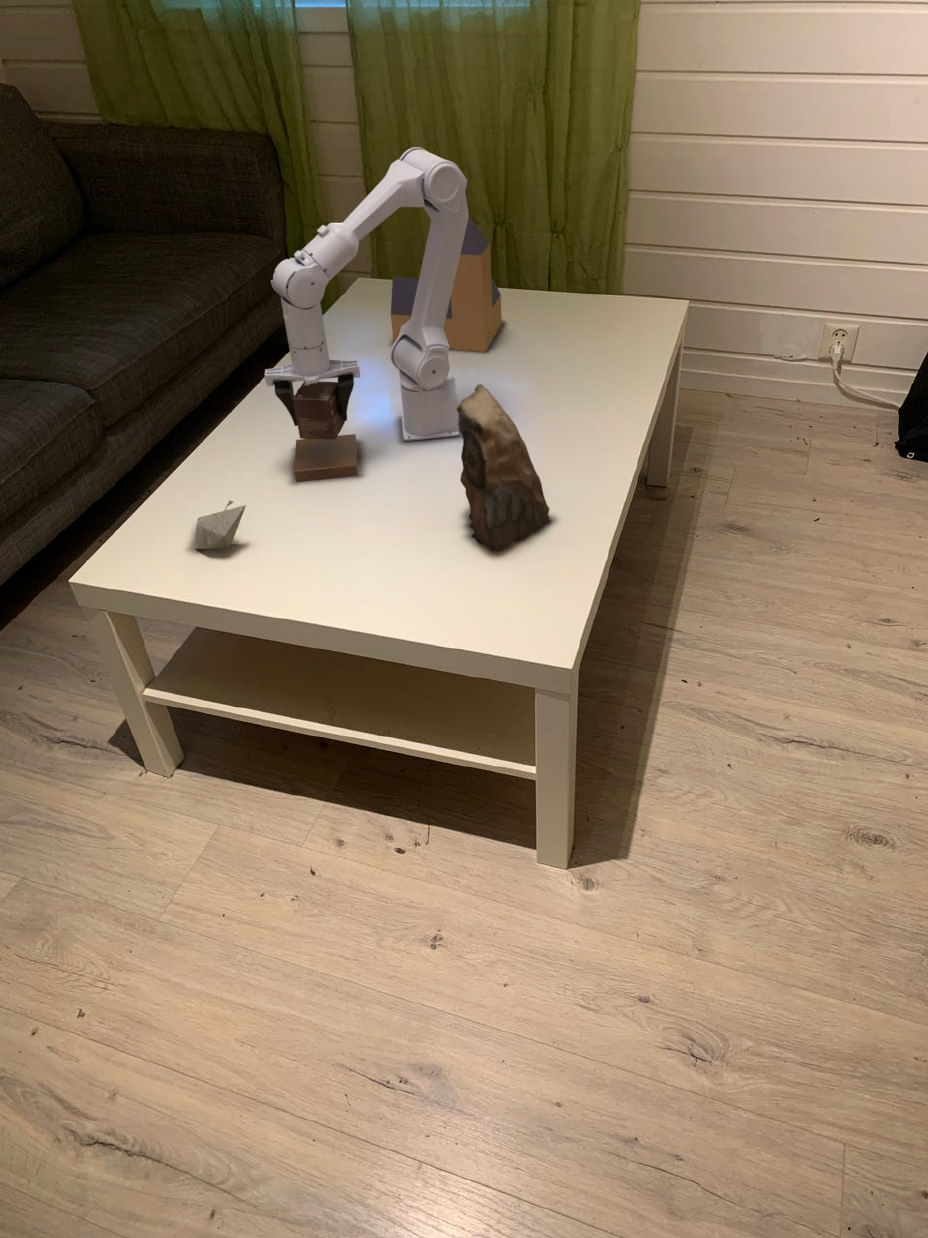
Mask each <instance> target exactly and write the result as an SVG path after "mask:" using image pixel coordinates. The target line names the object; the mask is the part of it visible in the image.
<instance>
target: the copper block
mask: <svg viewBox="0 0 928 1238" xmlns="http://www.w3.org/2000/svg"><path fill="white" fill-rule="evenodd" d="M356 436H357V435H356V433H351V434H350V433H349V434H342V435H341V434H338V436H337V438H336V439H335V440H321V439H301V438H299V439H296V440H295V452H294V466H293V473H294V477H295V482H296V483H297V482H306V481H316V480H317V481H318V480H328V479H336V478H347V477H348V478H349V477H355V476H358V475H359V472H358V470H359V469H358V442H357V438H356Z"/></svg>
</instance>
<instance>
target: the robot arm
mask: <svg viewBox="0 0 928 1238" xmlns="http://www.w3.org/2000/svg"><path fill="white" fill-rule="evenodd" d="M467 185H468V179H467V178H466V176H465V174H464V173H463V172H462V171H461V169H460V168H459V166H458V165H457V164H456V163H455V162H454V161H451V160H448V159H444V158H442V157H439V156H438V155H436V154H433V153H431V152H430V151H428V150H427V149H424V148H423V147H418V146H417V147H416V146H414V147H411V148H409V149H407V150H405V151H404V152H402V155H400V157H399V159H396V160H395V161H393V162H392V163H391V164H390V166H389V168H388V170H387V173H386V174H385V176H384V177H383V178H382V180H380V182H378V184H377V185H376V186H375V187H374V188H373V189H372V190H371V192H369V194H368V195H367V196H366V197H365V198H364V199H363V200H362V201H361V202H360V203H359V204H358V206H356V207H355V209H354V210H353V211H352V212H351V213H350V214H349V215H348V216H347V217H346V218H345V219H344V221H343V222H329V223H328V224H327V225H324V224H322V225H321V226H320V227H319V228H318V229H317V230H316V231H317V233H318V234H316V236H315V237H314V238H313V239H311V240H310V241H309V242H308V243H307V244H306V245H305V246H304V247H303V248H302V249H301V250H297V251H296V252H295V253H294V254H293V256H294V257H289V259H288V258H285V259H283V260H282V261H280V263H278V264H277V266H276V267H275V269H274V273H273V275H272V279H271V280H270V284H271V287H272V288H273V290H274V291H275V293H277V294H278V295H279V296H280V302H281V307H282V315H283V321H284V326H285V331H286V338H287V342H288V348H289V353H290V359H291V363H289V364H285V365H282V366H278V367H274V368H273V367H272V368H267V369H264V379H265V383H266V387H273V386H274V394H275V396H276V397H277V398H278V400H280V402H281V403H282V405H283V406H284V407H285V409H286V410H287V412H288V413H289V415H290V418H291V419H292V422H293V425H294V427H298V425H297V420H296V414H295V408H294V402H293V397H294V396H295V391H294V390H295V389H294V385H293V383H295V382H304V381H305V383H306V384H313V383H318V382H320V381H321V380H325V379H337V382H338V390H339V395H340V401H341V410H342V420H343V421H345V422H347V421H348V407H349V402H350V398H351V394H352V392H353V390H354V385H355V379H357V378H358V379H359V378H361V370H360V361H359V360H340V359H330V354H329V348H328V343H327V342H328V341H327V337H326V330H325V329H326V328H325V324H324V318H323V317H324V316H323V310H322V305H321V301H322V300H323V298H324V295H325V292H326V287H327V285H328V284H329V283H330V281H331V280H332V279H333V278H334V277H335V276H337V275H338V273H340V272H341V271H342V270H343V269H344V268H345V267H346V266H347V265H348V264H349V263H350V262H351V261H352V260H353V259H354V258H355V257H356V256H357V255H358V252H359V243H360V241H362V239H364V238H365V237H366V236H367V235H368V234H370V233H371V232H372V231H373V230H375V229H376V228H377V227H378V226H380V224H382V223H383V222H384V221H385V220H386V219H388V218H389V217H390V216H391V215H392V214H394V213H395V212H396V211H397V210H398V209H400V208H423V209H424V211H425V212H426V214H427V215H428V217H429V218H430V225H429V229H428V235H427V239H426V244H425V249H424V254H423V258H422V264H421V268H420V272H419V276H418V278H419V282H418V286H417V291H416V296H415V301H414V306H413V310H412V315H411V319H410V320H409V321H408V322H407V323H405V324H404V325H402V326H401V329H400V333H399V336H398V338H397V340H396V341H395V342H394V341H393V344H392V346H391V349H390V355H389V356H390V361H391V363H392V365H393V366H394V367H395V368H396V369H397V370H398V374H399V386H400V395H401V404H402V413H403V414H402V416H401V426H402V428H401V429H402V435H403V437H402V438H403V441H405V442H410V441H419V440H420V441H421V440H430V439H441V438H450V437H451V438H452V437H458V436H460V431H459V429H460V426H459V419H460V414H459V412H458V411H457V407H458V397H457V387H456V379H455V377H454V376H449V373H450V360H449V351H450V349H449V343H448V340H447V338H446V335H445V332H444V329H443V328H444V323H445V319H446V315H447V310H448V306H449V301H450V297H451V293H452V288H453V284H454V279H455V275H456V271H457V266H458V262H459V258H460V253H461V249H462V244H463V240H464V236H465V231H466V227H467V222H468V216H470V214H469V207H468V201H467V195H466V189H467Z"/></svg>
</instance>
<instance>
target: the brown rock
mask: <svg viewBox="0 0 928 1238" xmlns="http://www.w3.org/2000/svg"><path fill="white" fill-rule="evenodd" d="M457 411H458V412H459V421H458V424H459V433H461V435H462V449H461V455H460V459H461V462H462V472H461V473H460V479H459V480H460V483H461V484H462V486H463V487H464V490H465V497H466V499H467V501H468V505H469V510H470V511H469V512H470V513H469V515H468V518H469V519H470V520H471V524H469V527H470V529H472V530H473V533H472V535H471V537H472V538H473V539H474V540H475V541H476V542H477V543H478V544H480V545H484V546H485V547H487V548H488V549H490V550H491V551H492V552H494V553H498V552H502V551H504V550H505V549H507V548H509V547H510V546H511V545H512V544H514V543H518V542H520V541H521V540H522V539H523V538H525V537H527V536H528V535H529V534H533V533H535V532H537V531H539V530H540V529H541V528H542V527H543V526H545V525H546V524H548V523H549V522H550V521H551V518H550V516H549V513H550V507H549V505H548V503H547V500H546V497H545V495H544V489H543V485H542V481H541V478H540V476H539V474H538V473H537V471H536V468H535V466H534V464H533V462H532V459H531V456H530V454H529V450H528V448H527V445H526V443H525V441H524V439H523V438H522V436H521V434H520V431H519V429H518V427H517V425H516V423H515V422H514V421H513V420H512V418H511V416H509V414H508V413H507V412H506V411H505V410H504V408H503V406H502V405H501V404H500V402H499V401H498V400H497V398H496V397H495V396H494V395H493V394H492V393H491V392H490V391H489V389H487V388H486V387H485V386H484V385H483V384H481V383H478V384H477V385H476V387H475V388H474V391H473V392H471V394H470V395H468V396H466V397H465V398H463V399H462V400H461V401H460V403H459V404H458V405H457Z"/></svg>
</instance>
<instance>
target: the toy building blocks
mask: <svg viewBox="0 0 928 1238" xmlns="http://www.w3.org/2000/svg"><path fill="white" fill-rule="evenodd" d="M491 259H492V258H491V242H490V241H489V239H488V238H487V237H486V235H484V233H483V231H482V230H481V229H480V228H479V226H478V225H477V224H476V223H475V221H474V220H473V219H472V217H471V216H470V215H469V216H468V222H467V227H466V231H465V236H464V240H463V244H462V249H461V253H460V258H459V262H458V266H457V271H456V275H455V279H454V284H453V288H452V293H451V297H450V301H449V306H448V310H447V315H446V319H445V323H444V328H443V329H444V332H445V335H446V338H447V340H448V343H449V350H457V351H468V352H479V353H486V352H487V350H488V348H489V347H490V345H491V343H492V342H493V340H494V338H495V337H496V335H497V333H498V332H499V330H500V329H501V326H502V324H503V323H502V322H503V321H502V293H500V290H499V288H498V286H497V285H496V283H495V281H494V279H493V276H492V260H491ZM418 282H419V277H406V276H392V283H391V302H390V322H391V329H392V340H393V343H394V342H395V341H396V340H397V338H398V336H399V333H400V329H401V326H402V325H404V324H405V323H407V322H408V321H409V320H410V319H411V315H412V310H413V306H414V301H415V296H416V291H417V286H418Z"/></svg>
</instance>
